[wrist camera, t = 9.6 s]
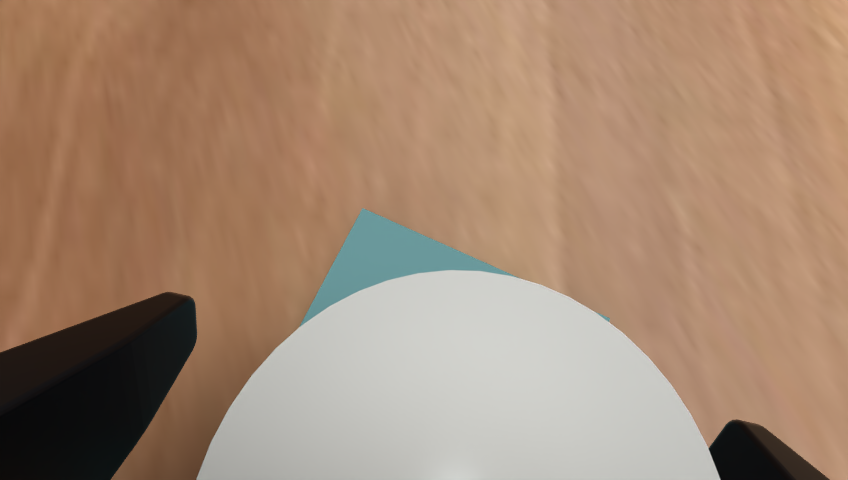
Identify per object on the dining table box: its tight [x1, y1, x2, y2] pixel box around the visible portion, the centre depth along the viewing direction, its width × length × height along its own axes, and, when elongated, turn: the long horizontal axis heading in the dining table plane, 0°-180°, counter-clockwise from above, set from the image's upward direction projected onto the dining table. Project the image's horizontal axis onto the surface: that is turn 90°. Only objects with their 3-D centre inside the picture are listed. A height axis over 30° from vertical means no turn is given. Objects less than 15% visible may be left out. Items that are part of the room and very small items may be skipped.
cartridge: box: [196, 270, 720, 480], centre depth 10 cm, size 5×5×12 cm
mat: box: [300, 209, 610, 326], centre depth 15 cm, size 12×10×1 cm
